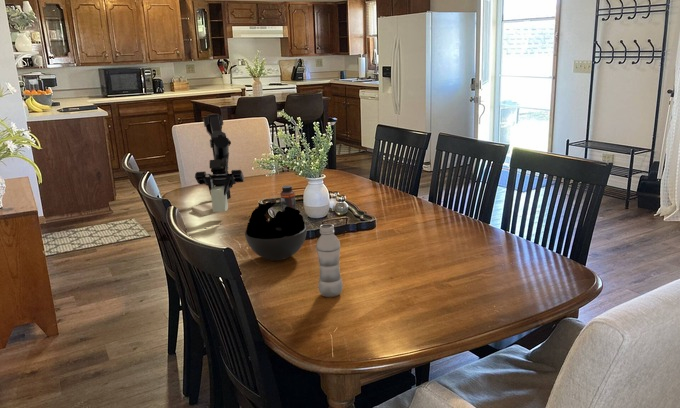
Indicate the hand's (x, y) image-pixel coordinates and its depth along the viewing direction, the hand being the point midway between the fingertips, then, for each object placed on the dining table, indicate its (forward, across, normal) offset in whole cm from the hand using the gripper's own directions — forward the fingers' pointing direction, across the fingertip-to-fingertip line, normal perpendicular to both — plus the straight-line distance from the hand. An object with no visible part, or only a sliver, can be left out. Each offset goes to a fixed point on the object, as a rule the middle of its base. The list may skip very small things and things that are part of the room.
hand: (217, 195), depth 226 cm
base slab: (-2, -9, +19) cm, 21 cm away
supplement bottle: (+1, +26, +16) cm, 31 cm away
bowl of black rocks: (+38, +29, -22) cm, 53 cm away
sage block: (+4, 0, +6) cm, 7 cm away
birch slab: (-3, -9, +18) cm, 20 cm away
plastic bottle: (+59, +48, -43) cm, 87 cm away
